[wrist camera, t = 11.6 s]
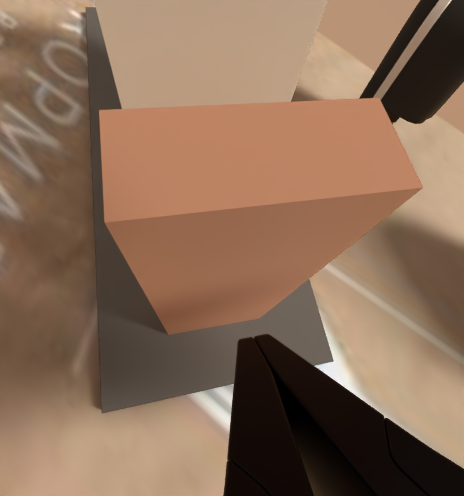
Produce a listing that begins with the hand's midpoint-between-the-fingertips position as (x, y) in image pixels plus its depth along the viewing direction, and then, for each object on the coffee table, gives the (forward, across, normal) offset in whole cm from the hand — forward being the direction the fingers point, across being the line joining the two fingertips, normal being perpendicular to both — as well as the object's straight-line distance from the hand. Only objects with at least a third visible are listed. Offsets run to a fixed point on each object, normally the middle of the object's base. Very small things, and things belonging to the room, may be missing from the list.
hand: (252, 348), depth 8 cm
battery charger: (+16, -13, -2) cm, 21 cm away
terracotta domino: (+8, 0, +4) cm, 9 cm away
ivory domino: (+12, 0, +1) cm, 12 cm away
